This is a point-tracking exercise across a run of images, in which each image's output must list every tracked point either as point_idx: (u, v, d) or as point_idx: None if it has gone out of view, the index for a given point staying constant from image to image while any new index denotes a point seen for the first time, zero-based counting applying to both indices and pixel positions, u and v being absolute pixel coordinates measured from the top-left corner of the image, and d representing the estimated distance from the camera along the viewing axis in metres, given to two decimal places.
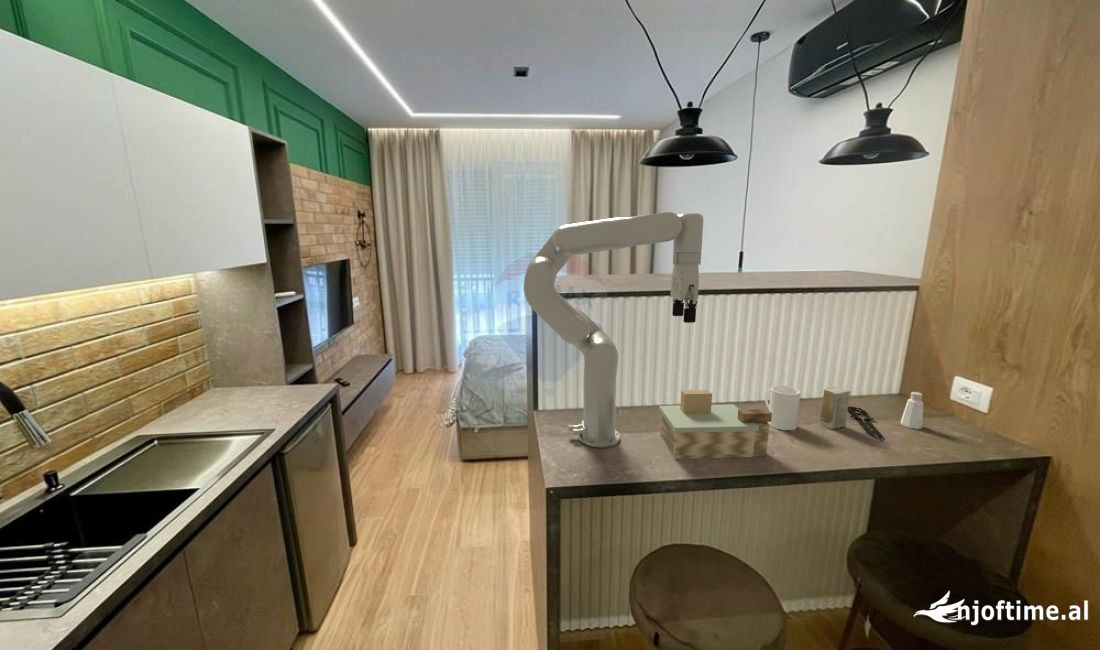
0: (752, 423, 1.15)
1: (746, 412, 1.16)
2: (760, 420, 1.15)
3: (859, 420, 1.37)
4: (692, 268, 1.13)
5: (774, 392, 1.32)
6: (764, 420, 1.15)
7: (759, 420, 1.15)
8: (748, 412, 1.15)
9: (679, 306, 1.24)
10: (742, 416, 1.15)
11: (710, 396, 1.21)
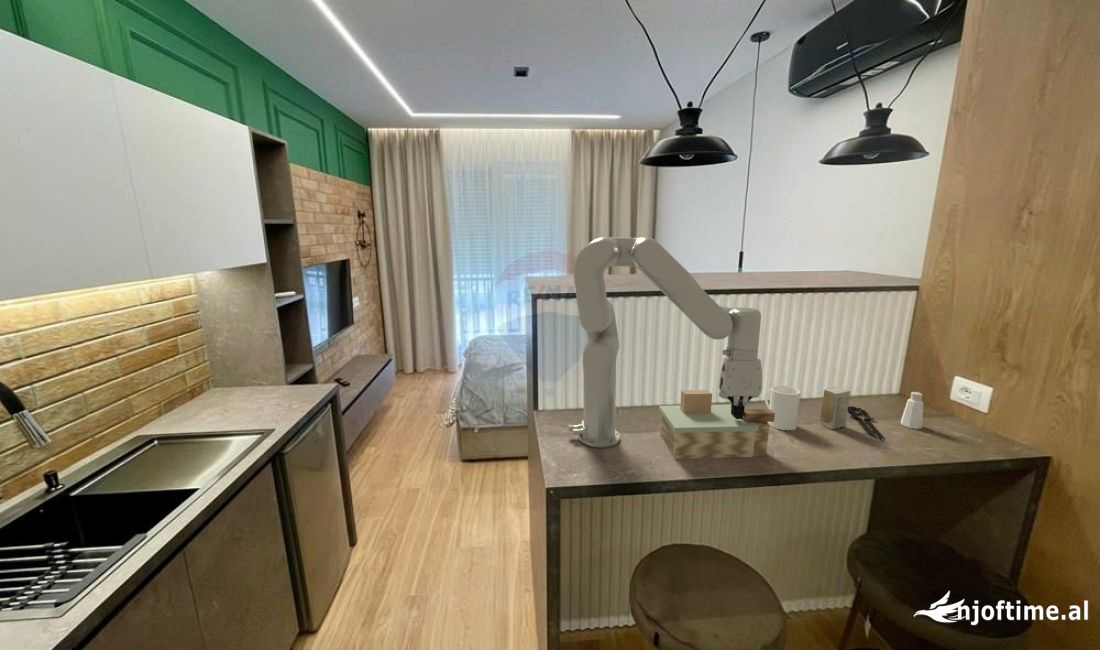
0: (752, 423, 1.15)
1: (749, 412, 1.16)
2: (763, 420, 1.15)
3: (859, 420, 1.37)
4: None
5: (774, 392, 1.32)
6: (767, 420, 1.15)
7: (762, 420, 1.15)
8: (750, 412, 1.16)
9: None
10: (744, 416, 1.15)
11: (710, 396, 1.21)
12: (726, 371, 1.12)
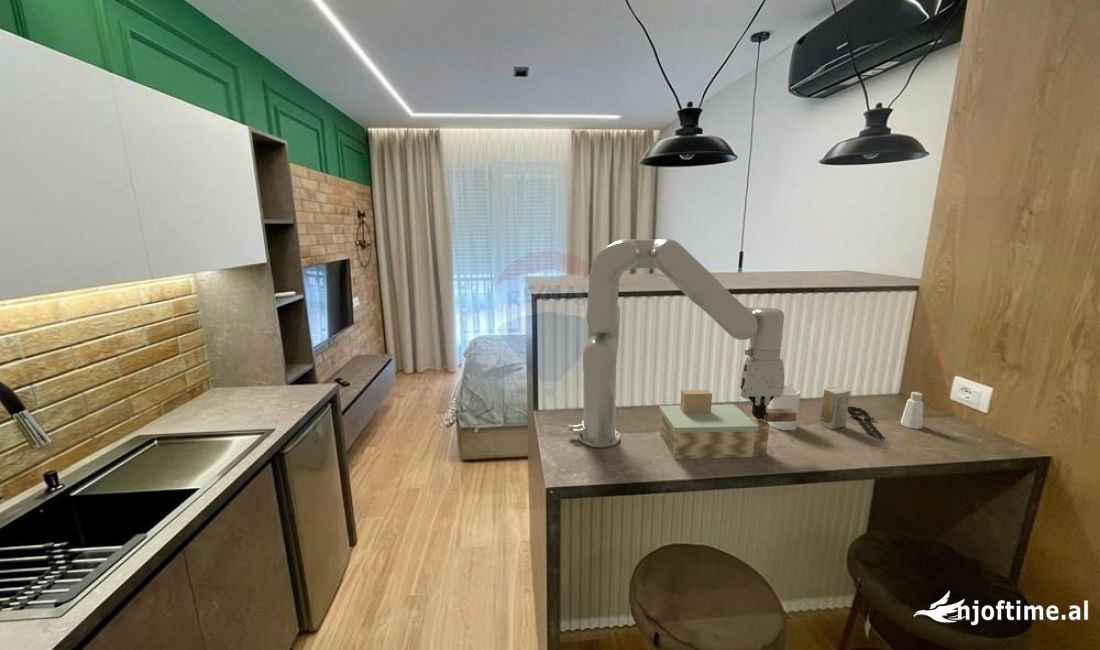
0: (752, 423, 1.15)
1: (770, 412, 1.16)
2: (784, 419, 1.15)
3: (859, 420, 1.37)
4: None
5: None
6: (788, 419, 1.15)
7: (783, 419, 1.15)
8: (772, 412, 1.16)
9: None
10: (766, 416, 1.16)
11: (710, 396, 1.21)
12: (748, 371, 1.12)
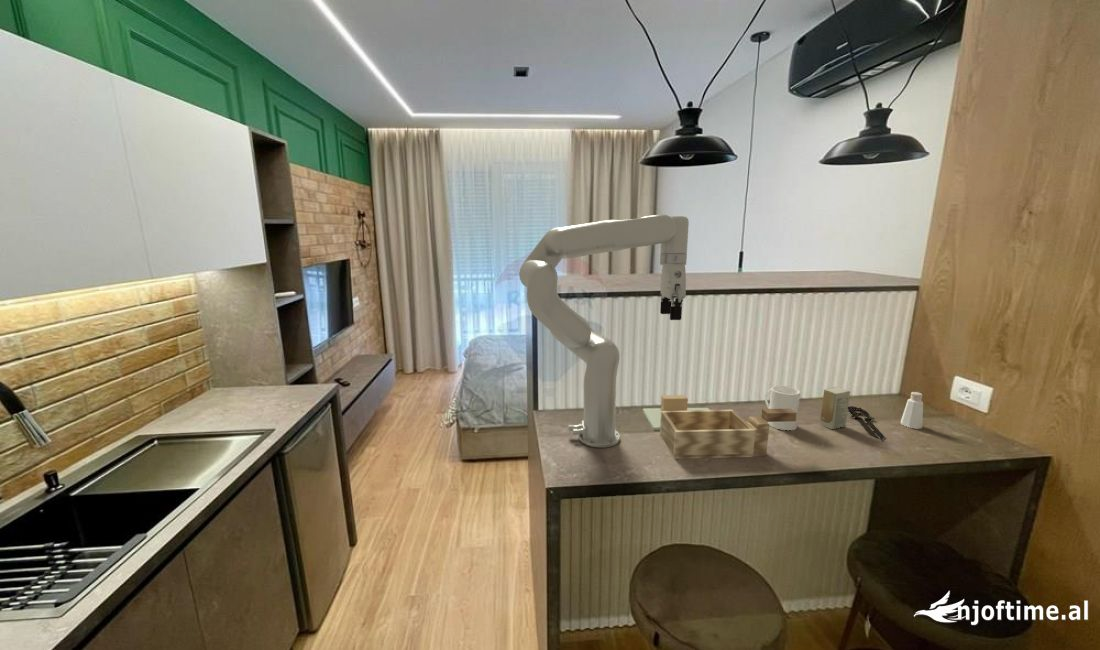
0: None
1: (770, 412, 1.16)
2: (784, 419, 1.15)
3: (860, 420, 1.37)
4: None
5: (774, 392, 1.32)
6: (788, 419, 1.15)
7: (783, 419, 1.15)
8: (772, 412, 1.16)
9: None
10: (766, 416, 1.16)
11: (686, 400, 1.40)
12: (683, 275, 1.19)
